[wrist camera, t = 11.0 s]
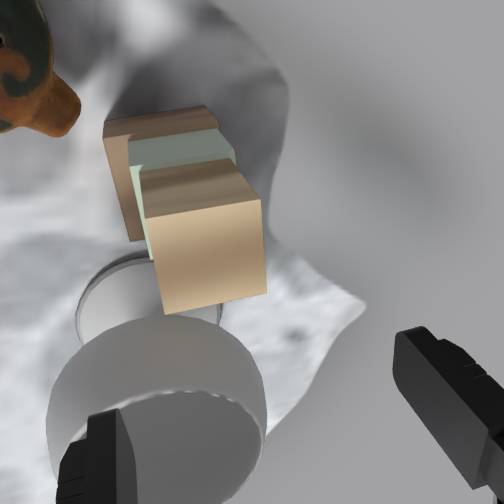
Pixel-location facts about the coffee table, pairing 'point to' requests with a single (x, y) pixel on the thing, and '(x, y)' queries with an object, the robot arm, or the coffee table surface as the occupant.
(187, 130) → the tower slab
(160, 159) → the tower cube
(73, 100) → the decorative turtle
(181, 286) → the oak block
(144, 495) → the chalice
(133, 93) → the coffee table surface
